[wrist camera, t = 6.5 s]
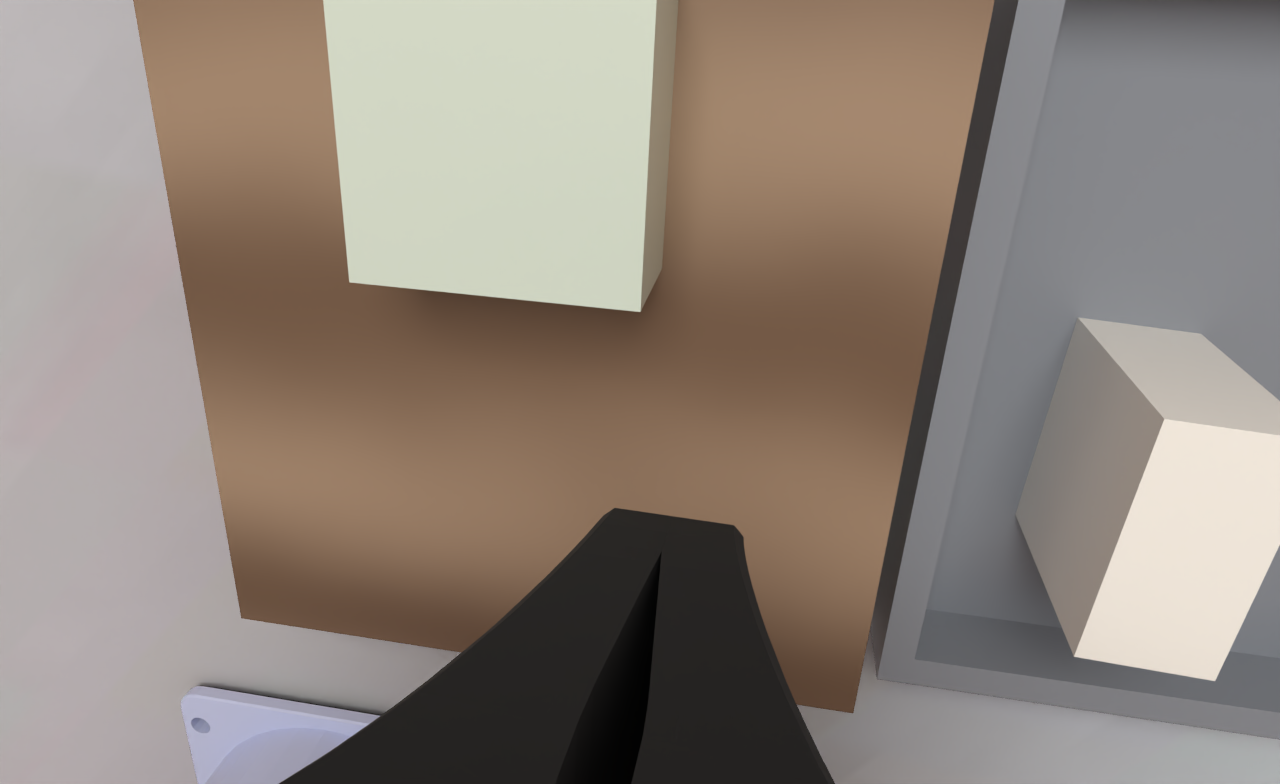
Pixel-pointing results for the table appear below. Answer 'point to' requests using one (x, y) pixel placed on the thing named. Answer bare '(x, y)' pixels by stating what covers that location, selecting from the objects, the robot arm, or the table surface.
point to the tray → (1046, 317)
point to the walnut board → (574, 330)
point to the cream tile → (1153, 497)
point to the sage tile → (504, 145)
